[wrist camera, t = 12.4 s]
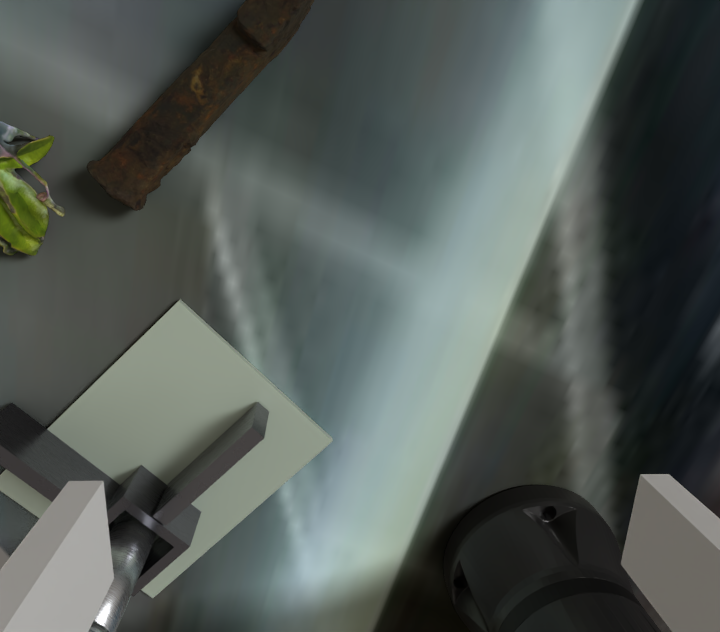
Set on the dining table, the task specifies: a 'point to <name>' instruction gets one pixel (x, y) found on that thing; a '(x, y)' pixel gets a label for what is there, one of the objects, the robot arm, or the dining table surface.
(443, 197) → the dining table surface
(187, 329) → the mat
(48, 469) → the hinge base
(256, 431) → the bolted dark bar
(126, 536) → the hinge pin
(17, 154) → the passion flower
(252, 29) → the hand tool
